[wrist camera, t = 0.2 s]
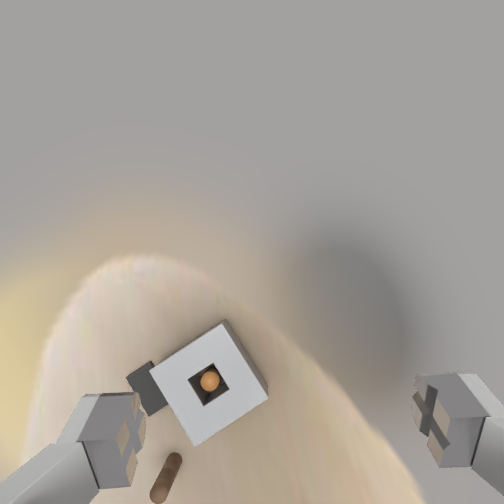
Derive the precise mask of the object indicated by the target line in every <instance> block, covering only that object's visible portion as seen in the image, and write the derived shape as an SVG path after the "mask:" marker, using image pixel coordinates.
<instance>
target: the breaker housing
mask: <svg viewBox="0 0 504 504" xmlns="http://www.w3.org/2000/svg"><path fill="white" fill-rule="evenodd" d="M212 363H214V365H215V366H216V368H217V369H218V371H219V373H220V374H221V376H222V377H223V379H224V381H225V383H224V384H222V385H221V386H219V387H218V388H216V389H215V390H213V391H212V392H209V391H206V390H205V389H203V387H202V386H201V378H200V376H199V374H198V372H199V371H201V370H202V369H204V368H206V367H207V366H209V365H210V364H212ZM149 372H150V373H151V375H152V377H153V378H154V380H155V382H156V383H157V385H158V387H159V388H160V390H161V392H162V393H163V395H164V397H165V398H166V400H167V402H168V403H169V405H170V407H171V409H172V410H173V412H174V414H175V415H176V417H177V419H178V420H179V422H180V424H181V425H182V427H183V429H184V430H185V432H186V434H187V435H188V437H189V439H190V440H191V442H192V444H193V445H194V447H196V446H197V445H199V444H200V443H202V442H203V441H205V440H206V439H208V438H209V437H211V436H212V435H214V434H215V433H217V432H218V431H220V430H221V429H223V428H224V427H226V426H227V425H229V424H230V423H232V422H233V421H235V420H236V419H238V418H240V417H241V416H243V415H244V414H246V413H247V412H249V411H250V410H252V409H253V408H255V407H256V406H258V405H259V404H261V403H262V402H264V401H265V400H267V399H268V398H269V396H268V385H267V384H266V382H265V380H264V379H263V377H262V376H261V374H260V372H259V371H258V369H257V368H256V366H255V364H254V363H253V361H252V360H251V358H250V357H249V355H248V353H247V352H246V350H245V349H244V347H243V345H242V344H241V342H240V341H239V339H238V337H237V336H236V334H235V333H234V331H233V329H232V328H231V326H230V325H229V323H228V322H227V320H226V319H225V320H224V321H222V322H220V323H219V324H217V325H216V326H214V327H213V328H211V329H210V330H208V331H207V332H205V333H204V334H202V335H200V336H199V337H197V338H196V339H194V340H193V341H191V342H190V343H188V344H187V345H185V346H184V347H182V348H180V349H179V350H177V351H176V352H174V353H173V354H171V355H170V356H168V357H167V358H165V359H164V360H162V361H161V362H159V363H158V364H157V365H156V366H154V367H153V368H152V369H151V370H149Z"/></svg>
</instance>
